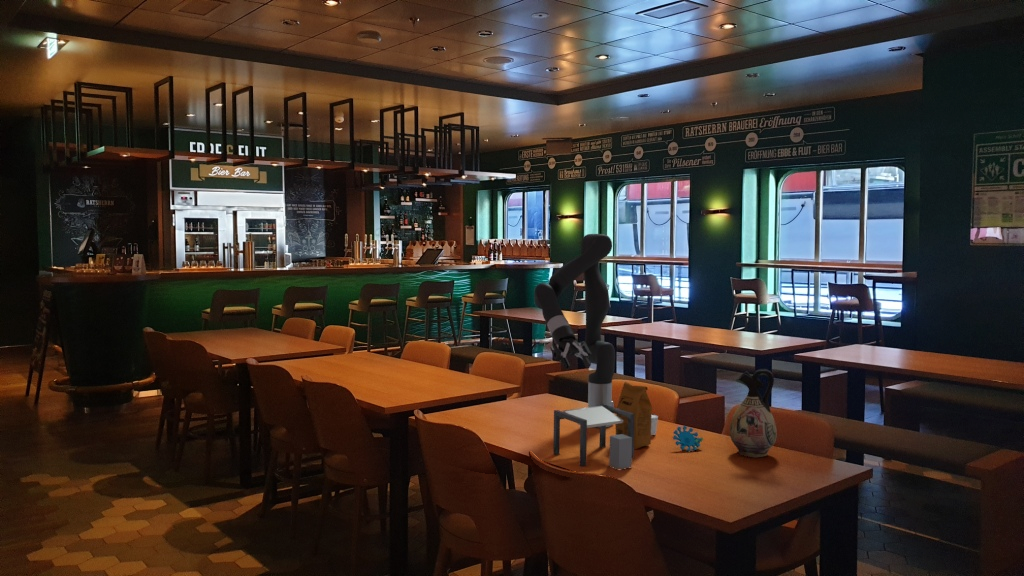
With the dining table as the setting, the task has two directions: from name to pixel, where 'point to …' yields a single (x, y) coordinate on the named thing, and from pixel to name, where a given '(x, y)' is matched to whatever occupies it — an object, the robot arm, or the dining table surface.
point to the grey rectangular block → (620, 451)
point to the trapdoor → (595, 416)
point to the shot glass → (653, 424)
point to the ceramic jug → (754, 418)
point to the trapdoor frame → (583, 430)
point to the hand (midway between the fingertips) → (578, 367)
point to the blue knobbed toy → (687, 438)
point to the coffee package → (639, 404)
